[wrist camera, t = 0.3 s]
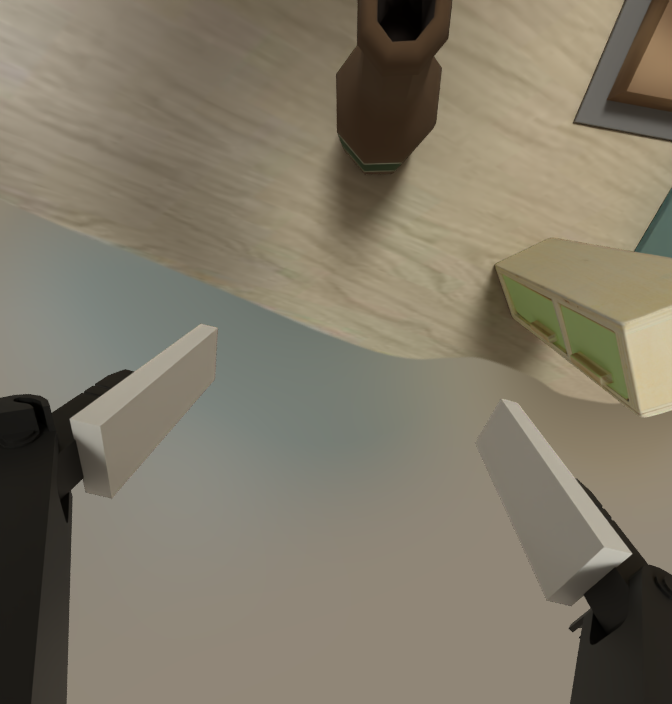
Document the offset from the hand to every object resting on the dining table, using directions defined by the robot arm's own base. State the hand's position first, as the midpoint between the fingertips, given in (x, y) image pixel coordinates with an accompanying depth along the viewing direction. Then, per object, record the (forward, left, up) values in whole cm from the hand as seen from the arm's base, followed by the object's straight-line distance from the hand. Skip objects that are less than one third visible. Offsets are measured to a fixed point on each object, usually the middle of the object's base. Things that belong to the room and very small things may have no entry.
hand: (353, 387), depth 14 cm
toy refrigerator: (-3, +20, -28) cm, 34 cm away
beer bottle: (-14, -1, -28) cm, 31 cm away
